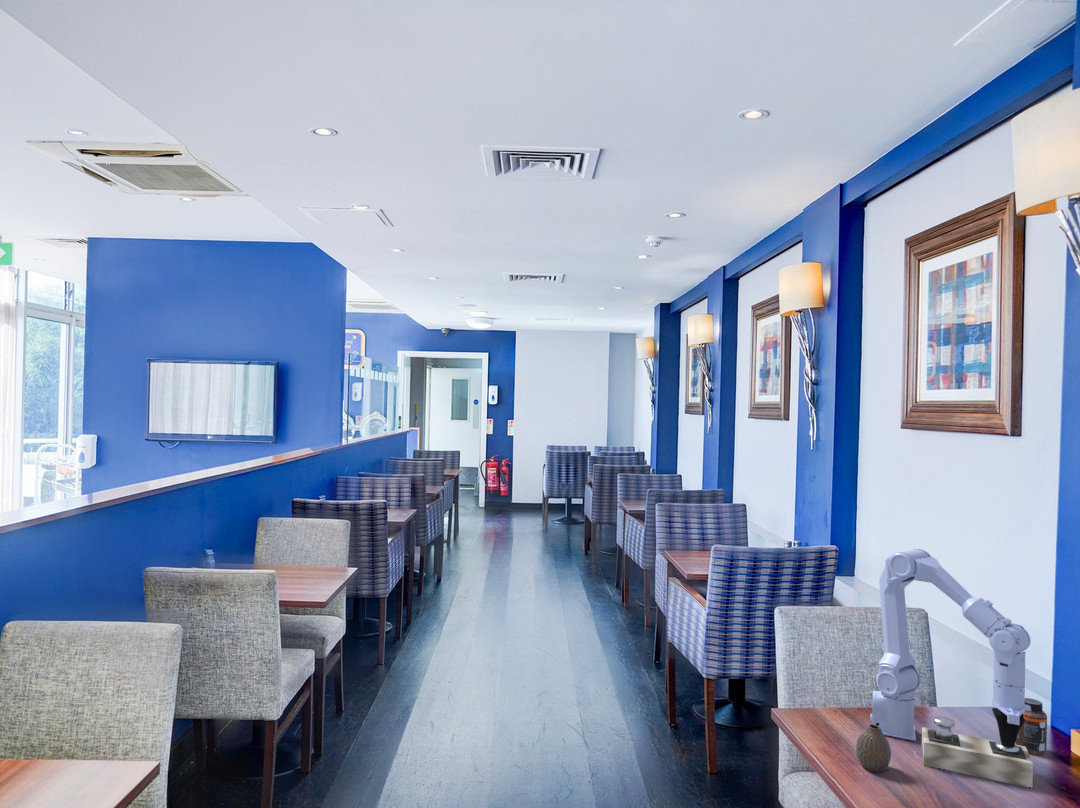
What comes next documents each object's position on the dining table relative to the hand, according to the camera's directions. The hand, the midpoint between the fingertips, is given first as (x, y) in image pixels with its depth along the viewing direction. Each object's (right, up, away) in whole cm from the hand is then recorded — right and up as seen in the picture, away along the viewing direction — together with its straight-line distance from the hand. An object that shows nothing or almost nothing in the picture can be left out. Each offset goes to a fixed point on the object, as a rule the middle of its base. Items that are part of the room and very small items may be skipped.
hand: (1007, 746), depth 158 cm
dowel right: (0, -5, 0) cm, 5 cm away
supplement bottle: (+13, -7, +12) cm, 19 cm away
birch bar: (-6, -6, +3) cm, 9 cm away
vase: (-28, -5, +1) cm, 29 cm away
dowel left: (-11, -1, +5) cm, 12 cm away
